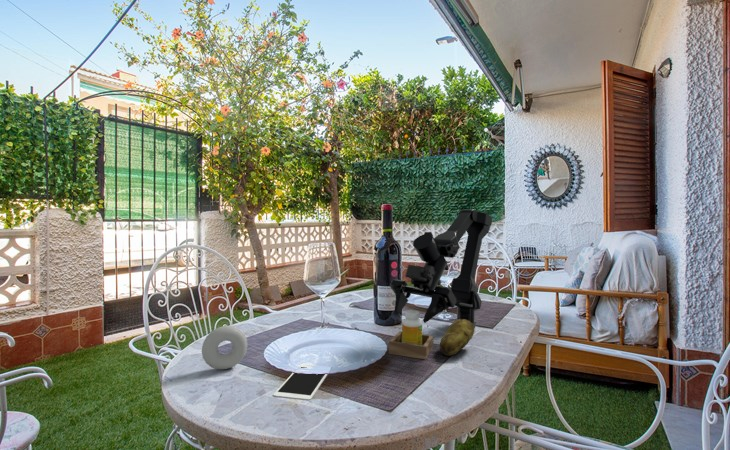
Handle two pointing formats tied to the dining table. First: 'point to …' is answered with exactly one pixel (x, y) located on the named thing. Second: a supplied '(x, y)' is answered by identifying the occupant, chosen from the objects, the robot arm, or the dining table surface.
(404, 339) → the supplement bottle
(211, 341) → the donut
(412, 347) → the open wooden box
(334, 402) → the dining table surface
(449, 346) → the potato
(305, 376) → the cell phone
